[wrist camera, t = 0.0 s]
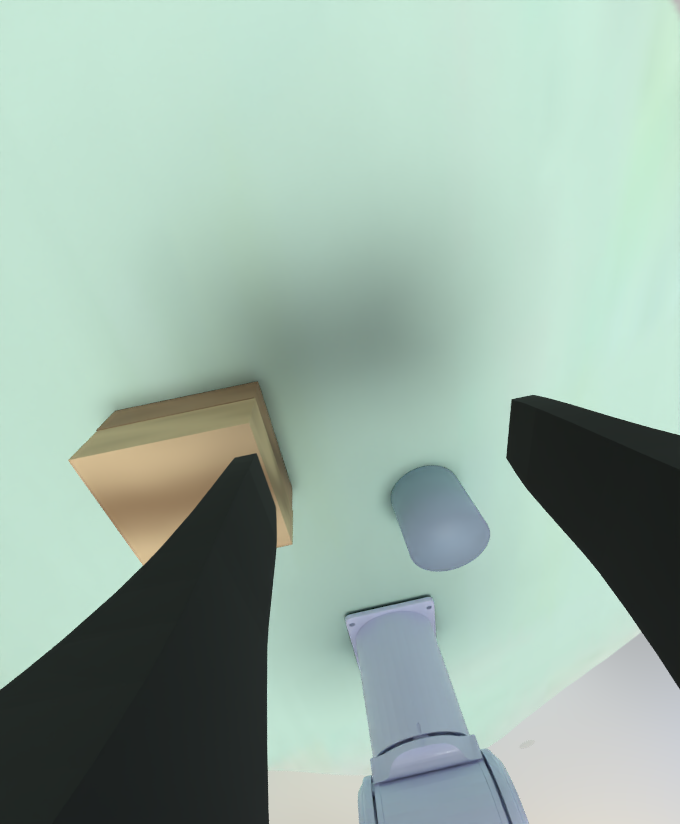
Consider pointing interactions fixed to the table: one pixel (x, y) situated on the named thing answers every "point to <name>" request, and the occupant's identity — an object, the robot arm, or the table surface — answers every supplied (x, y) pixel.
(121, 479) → the oak slab
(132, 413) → the walnut slab
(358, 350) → the table surface
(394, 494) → the round block
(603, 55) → the table surface
